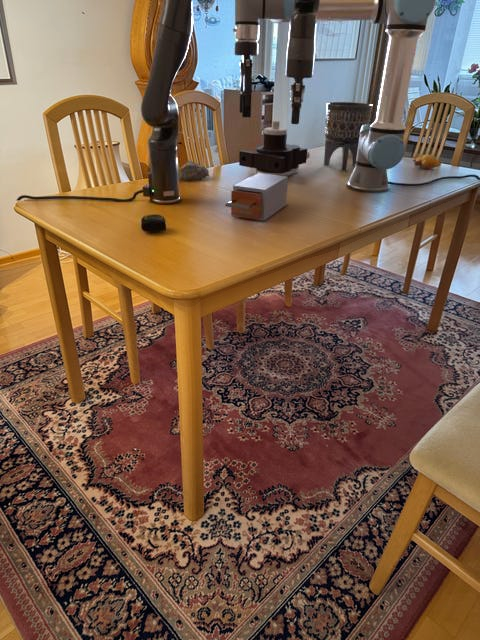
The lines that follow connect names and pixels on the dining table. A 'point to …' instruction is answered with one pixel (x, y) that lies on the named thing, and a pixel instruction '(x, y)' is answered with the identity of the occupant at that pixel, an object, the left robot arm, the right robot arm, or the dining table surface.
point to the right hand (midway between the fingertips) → (244, 114)
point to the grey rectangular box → (266, 192)
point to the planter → (344, 129)
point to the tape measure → (153, 223)
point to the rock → (192, 172)
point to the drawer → (245, 204)
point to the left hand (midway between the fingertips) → (295, 122)
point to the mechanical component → (275, 154)
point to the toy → (427, 161)
